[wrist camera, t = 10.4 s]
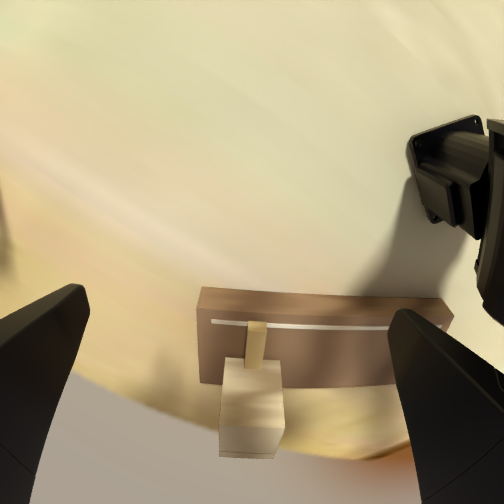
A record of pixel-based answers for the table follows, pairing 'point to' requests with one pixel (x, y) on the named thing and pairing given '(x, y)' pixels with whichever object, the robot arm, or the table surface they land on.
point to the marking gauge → (251, 401)
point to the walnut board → (307, 334)
